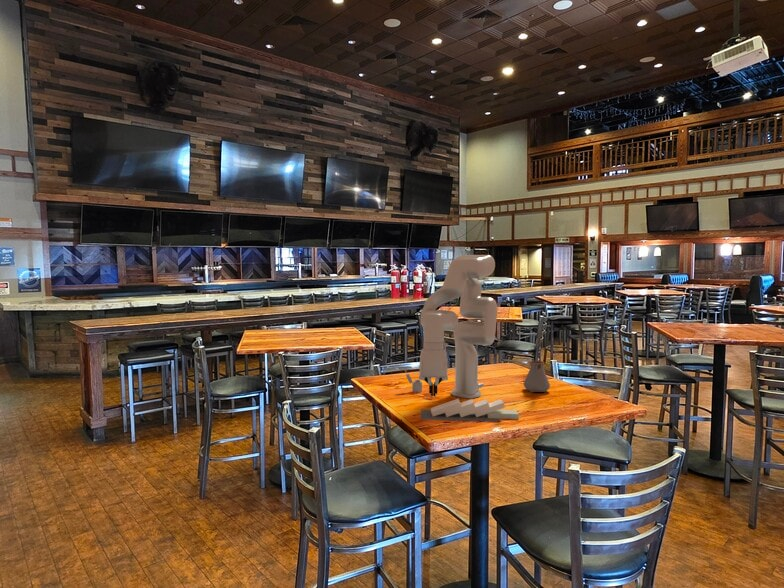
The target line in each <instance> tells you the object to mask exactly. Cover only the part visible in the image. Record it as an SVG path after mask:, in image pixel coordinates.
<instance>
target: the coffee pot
mask: <svg viewBox="0 0 784 588" xmlns="http://www.w3.org/2000/svg"><path fill="white" fill-rule="evenodd" d="M528 363H529V365H530V368H529V371H528V373H527V375H526V377H525V379H524V382H523V387H524V388H525V389H526V390H527V391H528V390H529V391H532V392H531V393H533V392H544V393H546V392H545V391H548V390H549V389H550V387H551V384H550V381H549V378H548V377H547V373H546V371H545V369H544V365H545V362H544V361H540V360H539V361H538V360H531V361H529V362H528ZM529 391H528V392H529Z"/></svg>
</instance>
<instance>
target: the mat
mask: <svg viewBox="0 0 784 588" xmlns="http://www.w3.org/2000/svg"><path fill="white" fill-rule="evenodd" d="M420 420H424V421H426V420H427V421H453V422H454V421H457V422H458V421H460V422H463V421H465V422H488V423H489V422H491V423H492V422H495V423H496V422H498V423H499V422H501V421H500V419H499V418H488V417H487V415H486V414H485V415H482V416H479V417H476V415H475V413H473V414H470V415H467V416H464V417H461V416H460V413H457V414H454V415H451V416H448V417H446V414H445V413H442V414H439V415H436V416H432V413H431V409H424V408H423V409H420Z"/></svg>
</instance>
